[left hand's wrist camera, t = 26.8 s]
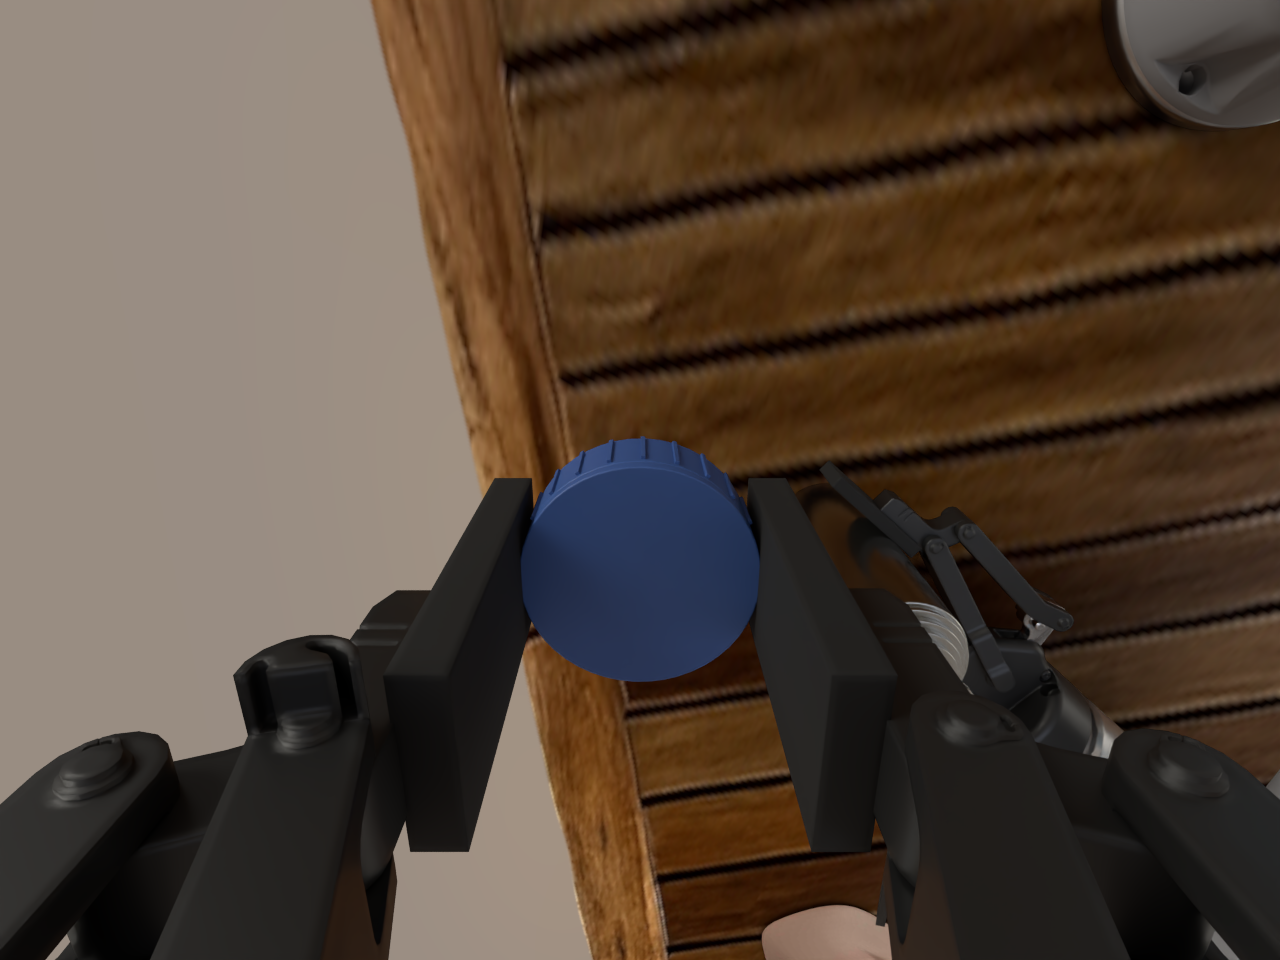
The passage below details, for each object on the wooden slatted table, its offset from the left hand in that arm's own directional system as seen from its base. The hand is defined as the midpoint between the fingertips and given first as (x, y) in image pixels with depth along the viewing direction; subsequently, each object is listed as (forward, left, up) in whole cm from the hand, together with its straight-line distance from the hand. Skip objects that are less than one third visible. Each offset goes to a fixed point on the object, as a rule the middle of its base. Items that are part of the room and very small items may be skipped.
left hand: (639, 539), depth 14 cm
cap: (0, 0, +1) cm, 1 cm away
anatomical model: (-5, +56, -29) cm, 63 cm away
